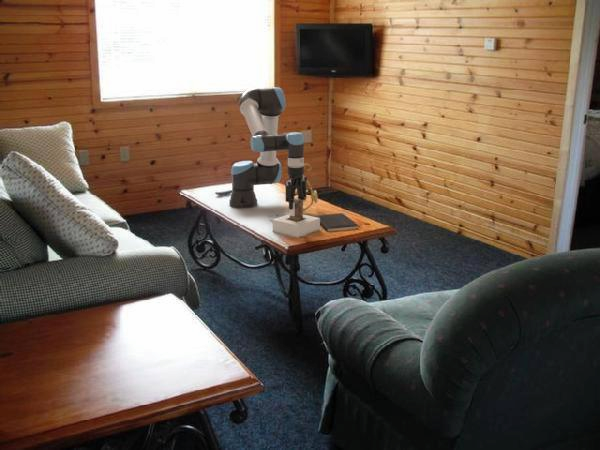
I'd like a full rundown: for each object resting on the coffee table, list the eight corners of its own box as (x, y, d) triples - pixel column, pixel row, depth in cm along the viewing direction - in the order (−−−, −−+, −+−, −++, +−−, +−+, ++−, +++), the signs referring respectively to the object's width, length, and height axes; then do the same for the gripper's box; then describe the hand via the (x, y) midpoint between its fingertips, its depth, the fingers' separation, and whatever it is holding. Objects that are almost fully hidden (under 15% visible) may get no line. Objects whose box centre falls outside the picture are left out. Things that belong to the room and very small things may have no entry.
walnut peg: (295, 227, 338) (295, 199, 334) (302, 228, 335) (302, 200, 331) (289, 229, 335) (289, 200, 331) (297, 231, 332) (296, 202, 328)
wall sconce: (313, 207, 377) (313, 161, 370) (318, 211, 368) (318, 164, 361) (288, 208, 374) (287, 162, 367) (292, 213, 365) (291, 166, 358)
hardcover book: (342, 217, 359) (342, 213, 359) (358, 229, 338) (358, 225, 338) (312, 220, 355) (312, 215, 355) (326, 232, 334) (327, 228, 333)
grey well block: (294, 224, 346) (294, 212, 344) (319, 230, 336) (319, 218, 335) (272, 231, 334) (272, 219, 333) (298, 238, 325) (298, 225, 323)
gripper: (289, 170, 317) (289, 219, 324) (314, 164, 331) (314, 211, 337) (276, 168, 322) (277, 217, 329) (301, 162, 335) (302, 209, 342)
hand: (296, 214), depth 333 cm, fingers open, 5 cm apart
